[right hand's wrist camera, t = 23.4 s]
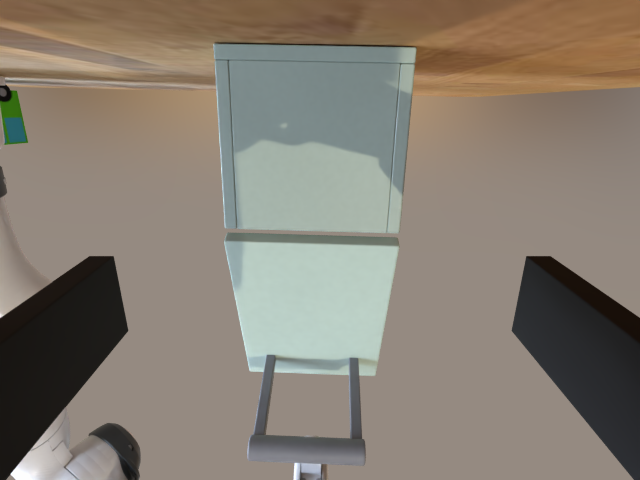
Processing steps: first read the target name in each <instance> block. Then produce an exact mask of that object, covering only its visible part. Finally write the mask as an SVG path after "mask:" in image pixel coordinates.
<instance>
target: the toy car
mask: <svg viewBox="0 0 640 480" xmlns="http://www.w3.org/2000/svg"><path fill="white" fill-rule="evenodd" d="M0 108H1V115H2V123H3V131H4V139H5V143H4V145H6V144H18V143H28V140H27V136H26V131H25V126H24V122H23V117H22V113H21V108H20V103H19V99H18V94H17V91H11V90H10V89H9V87H8V86H7V85H5V86H2V85H0Z"/></svg>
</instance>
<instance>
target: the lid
mask: <svg viewBox="0 0 640 480" xmlns="http://www.w3.org/2000/svg"><path fill="white" fill-rule="evenodd" d="M224 244H225V249H226V254H227V259H228V264H229V269H230V274H231V279H232V284H233V289H234V294H235V299H236V304H237V309H238V314H239V319H240V324H241V329H242V334H243V339H244V344H245V349H246V354H247V359H248V364H249V369H250V371H257V372H263V378H262V384H261V391H260V397H259V403H258V409H257V415H256V421H255V428H254V434H253V435H251V436H250V439H249V443H248V453H247V456H248V460H249V461H264V462H288V463H312V464H335V465H360V466H364V465H365V458H366V457H365V456H366V452H365V441H364V439H362V429H361V406H360V383H359V375H365V376H375V375H376V370H377V365H378V360H379V354H380V349H381V343H382V338H383V333H384V327H385V322H386V317H387V311H388V306H389V301H390V295H391V290H392V284H393V279H394V274H395V268H396V263H397V258H398V252H399V247H400V246H399V241H398V238H395V237H360V236H327V235H292V234H258V233H227V235H226V237H225V240H224ZM274 372H284V373H311V374H337V375H349V402H350V439H349V438H325V437H300V436H275V435H266V428H267V421H268V414H269V406H270V399H271V392H272V385H273V378H274Z"/></svg>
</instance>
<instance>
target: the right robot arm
mask: <svg viewBox="0 0 640 480" xmlns="http://www.w3.org/2000/svg"><path fill="white" fill-rule="evenodd" d="M127 332H128V327H127V322H126V317H125V312H124V307H123V302H122V297H121V291H120V286H119V281H118V276H117V271H116V266H115V261H114V257H113V256H89V257H88V258H86V259H85V260H83V261H82V262H81V263H79V264H78V265H76V266H75V267H73V268H72V269H70V270H69V271H67V272H66V273H65V274H63V275H62V276H60V277H59V278H57V279H56V280H54V281H53V282H52V283H50V284H49V285H47V286H46V287H44V288H43V289H41V290H40V291H38V292H37V293H36V294H34V295H33V296H31V297H30V298H28V299H27V300H25V301H24V302H23V303H21V304H20V305H18V306H17V307H15V308H14V309H12V310H11V311H9V312H8V313H7V314H5V315H4V316H2V317H1V318H0V480H6V479H7V478H8V477H9V475H10V474H11V473H12V472H13V471H14V469H15V468H16V467H17V466H18V464H19V463H20V462H21V461H22V460H23V458H24V457H25V456H26V455H27V453H28V452H29V451H30V450H31V449H32V447H33V446H34V445H35V444H36V443H37V441H38V440H39V439H40V438H41V436H42V435H43V434H44V433H45V432H46V430H47V429H48V428H49V427H50V425H51V424H52V423H53V422H54V421H55V419H56V418H57V417H58V416H59V415H60V413H61V412H62V411H63V410H64V408H65V407H66V406H67V405H68V404H69V402H70V401H71V400H72V399H73V397H74V396H75V395H76V394H77V393H78V391H79V390H80V389H81V388H82V386H83V385H84V384H85V383H86V382H87V380H88V379H89V378H90V377H91V376H92V374H93V373H94V372H95V371H96V369H97V368H98V367H99V366H100V364H101V363H102V362H103V361H104V360H105V358H106V357H107V356H108V355H109V354H110V352H111V351H112V350H113V349H114V347H115V346H116V345H117V344H118V343H119V341H120V340H121V339H122V338H123V337H124V335H125V334H126V333H127ZM512 332H513V333H514V334H515V335H516V337H517V338H518V339H519V340H520V341H521V343H522V344H523V345H524V346H525V348H526V349H527V350H528V351H529V352H530V354H531V355H532V356H533V357H534V358H535V360H536V361H537V362H538V363H539V365H540V366H541V367H542V368H543V369H544V371H545V372H546V373H547V374H548V376H549V377H550V378H551V379H552V380H553V382H554V383H555V384H556V385H557V387H558V388H559V389H560V390H561V391H562V393H563V394H564V395H565V396H566V397H567V399H568V400H569V401H570V402H571V404H572V405H573V406H574V407H575V408H576V410H577V411H578V412H579V413H580V415H581V416H582V417H583V418H584V419H585V421H586V422H587V423H588V424H589V425H590V427H591V428H592V429H593V430H594V432H595V433H596V434H597V435H598V436H599V438H600V439H601V440H602V441H603V443H604V444H605V445H606V446H607V447H608V449H609V450H610V451H611V452H612V453H613V455H614V456H615V457H616V458H617V460H618V461H619V462H620V463H621V464H622V466H623V467H624V468H625V469H626V471H627V472H628V473H629V474H630V475H631V477H632V478H633V479H634V480H640V318H639V317H638V316H636V315H635V314H633V313H632V312H631V311H629V310H628V309H626V308H625V307H623V306H622V305H620V304H619V303H617V302H616V301H615V300H613V299H612V298H610V297H609V296H607V295H606V294H604V293H603V292H601V291H600V290H599V289H597V288H596V287H594V286H593V285H591V284H590V283H588V282H587V281H585V280H584V279H583V278H581V277H580V276H578V275H577V274H575V273H574V272H573V271H571V270H570V269H568V268H567V267H565V266H564V265H562V264H561V263H559V262H558V261H557V260H555V259H554V258H552V257H551V256H527V257H526V261H525V266H524V271H523V276H522V281H521V286H520V292H519V296H518V302H517V307H516V312H515V317H514V322H513V327H512Z"/></svg>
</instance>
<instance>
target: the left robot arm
mask: <svg viewBox="0 0 640 480" xmlns="http://www.w3.org/2000/svg"><path fill="white" fill-rule="evenodd" d="M0 85H2V86H5V85H6V84H5V77H0ZM4 143H5V139H4V131H3V123H2V115H1V108H0V149H1V148H2V147H3V145H4ZM6 193H7V189H6V179H5V177H4V175H3V170H2V167H1V166H0V318H1V317H2V316H4V315H5V314H7V313H8V312H9V311H11V310H12V309H14V308H15V307H17V306H18V305H20V304H21V303H23V302H24V301H25V300H27V299H28V298H30V297H31V296H33V295H34V294H36V293H37V292H38V291H40V290H41V289H43V288H44V287H46V286H47V285H49V284H50V283H52V282H53V281H51V280H49V279H48V278H47V277H45V276H44V275H43V274H41V273H40V272H39V271H38V270H37V269H36V268H35V267H34V266H33V265H32V264H31V263H30V262H29V260H28V259H27V258H26V256H25V255H24V253H23V252H22V250H21V248H20V246H19V243H18V241H17V238H16V235H15V232H14V229H13V226H12V223H11V220H10V217H9V213H8V210H7V206H6V202H5V198H4V195H5V194H6ZM305 437H318V436H305ZM69 444H70V422H69V417H68V412H67V409H66V407H65V408H64V410H63V411H62V412H61V413H60V415H59V416H58V417H57V418H56V419H55V421H54V422H53V423H52V424H51V425H50V427H49V428H48V429H47V430H46V432H45V433H44V434H43V435H42V436H41V438H40V439H39V440H38V441H37V443H36V444H35V445H34V446H33V447H32V449H31V450H30V451H29V452H28V453H27V455H26V456H25V457H24V458H23V460H22V461H21V462H20V463H19V464H18V466H17V467H16V468H15V469H14V471H13V472H12V473H11V475H12V476H13V477H14V478H15V479H16V480H139V477H140V475H139V471H138V469H139V466H140V448H139V445H138V443H137V442H136V439H135V438H134V436H133V435H132V434H131V433H130V432H129V431H128V430H127V429H125V428H123V427H122V426H120V425H118V424H114V423H107V424H105V425H102V426H101V427H99V428H97V429H96V430H94V431H93V432H91V433H90V434H89V437H87V438H86V439H84V440H83V441H82V442H80V443H79V444H78V445H76V446H75V447H74V448H72V449H71V450H70V451H69V450H68V448H69ZM294 480H328V464H312V463H295V468H294Z"/></svg>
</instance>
